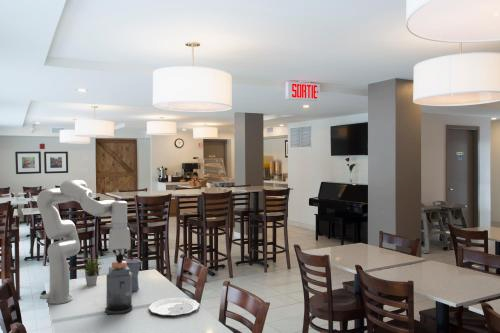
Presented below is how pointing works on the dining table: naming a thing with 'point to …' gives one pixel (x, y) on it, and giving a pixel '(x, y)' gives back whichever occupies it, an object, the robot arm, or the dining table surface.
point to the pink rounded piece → (119, 264)
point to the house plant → (91, 272)
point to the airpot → (119, 291)
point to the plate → (171, 305)
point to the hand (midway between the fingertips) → (119, 262)
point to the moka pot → (134, 271)
